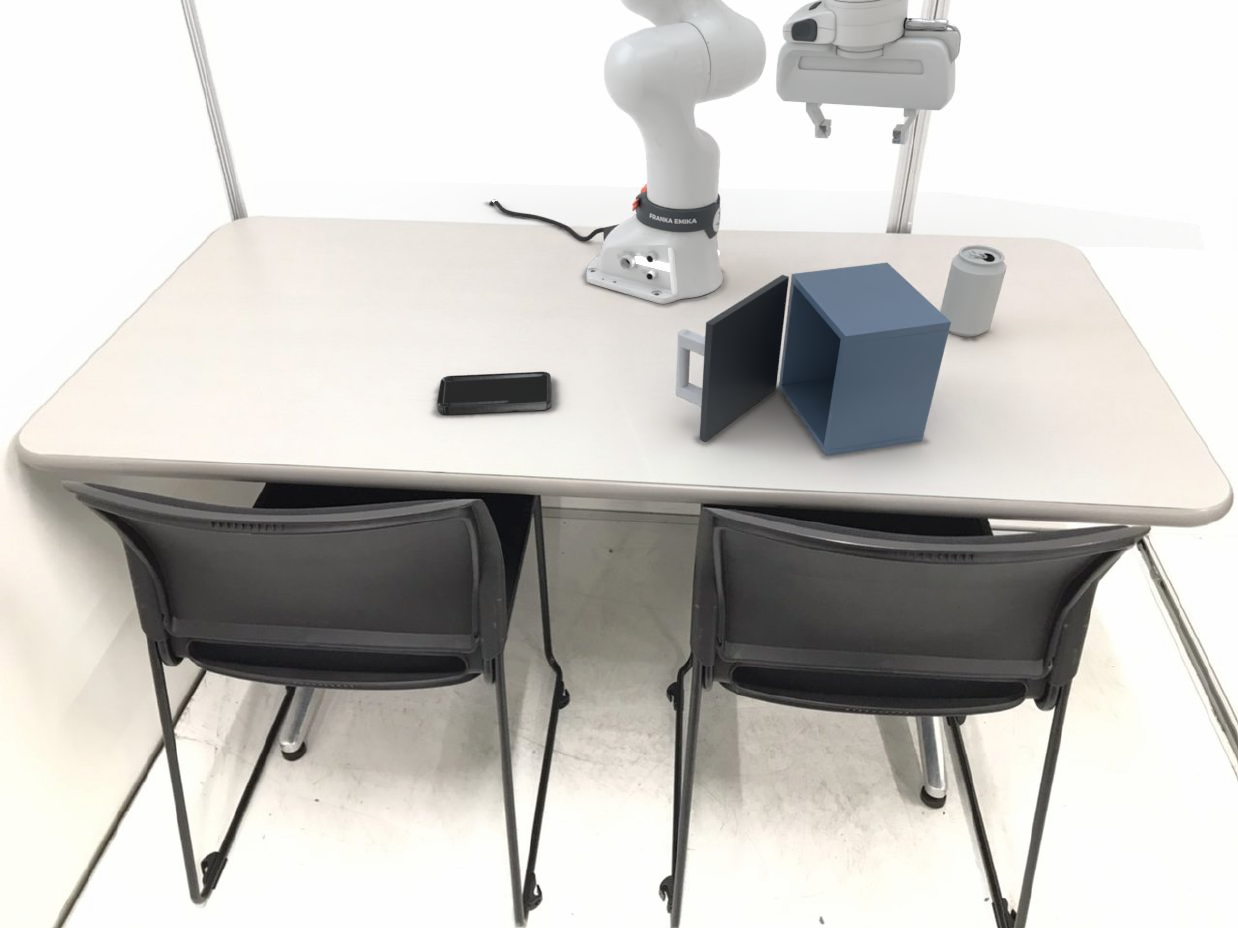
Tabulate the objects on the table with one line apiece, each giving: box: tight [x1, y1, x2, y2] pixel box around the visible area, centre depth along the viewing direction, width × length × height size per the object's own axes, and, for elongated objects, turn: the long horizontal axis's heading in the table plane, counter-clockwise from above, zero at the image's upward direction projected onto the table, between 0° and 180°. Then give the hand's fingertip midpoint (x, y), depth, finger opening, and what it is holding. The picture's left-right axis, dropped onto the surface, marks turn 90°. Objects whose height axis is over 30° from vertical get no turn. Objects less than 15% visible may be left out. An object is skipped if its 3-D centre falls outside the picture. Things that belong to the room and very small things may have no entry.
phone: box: [436, 371, 552, 415], centre depth 123 cm, size 8×1×15 cm
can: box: [939, 244, 1007, 338], centre depth 133 cm, size 8×8×12 cm
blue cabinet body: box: [778, 262, 951, 457], centre depth 114 cm, size 13×16×17 cm
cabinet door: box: [675, 274, 790, 443], centre depth 115 cm, size 6×16×17 cm, turn 139°
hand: (860, 139), depth 110 cm, fingers open, 8 cm apart
